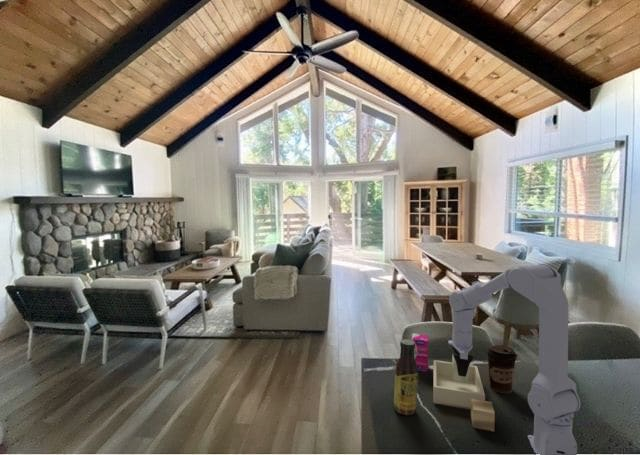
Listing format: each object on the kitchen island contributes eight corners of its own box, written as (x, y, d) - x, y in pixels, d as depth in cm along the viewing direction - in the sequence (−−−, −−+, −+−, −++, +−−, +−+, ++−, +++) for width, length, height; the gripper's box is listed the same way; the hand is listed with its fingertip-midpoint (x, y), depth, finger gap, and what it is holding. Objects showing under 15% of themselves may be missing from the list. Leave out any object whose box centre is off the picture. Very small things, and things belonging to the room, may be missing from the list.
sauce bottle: (400, 418, 89) (401, 348, 88) (389, 405, 95) (390, 339, 94) (421, 414, 91) (422, 345, 89) (409, 401, 97) (410, 336, 95)
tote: (484, 412, 91) (485, 395, 91) (433, 403, 96) (433, 386, 95) (476, 380, 108) (477, 366, 108) (433, 374, 112) (433, 360, 112)
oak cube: (494, 431, 84) (494, 413, 83) (472, 427, 85) (473, 409, 85) (490, 419, 88) (491, 402, 88) (470, 416, 90) (471, 398, 90)
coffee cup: (521, 398, 98) (522, 356, 97) (491, 395, 100) (492, 354, 99) (510, 382, 106) (511, 344, 106) (482, 380, 108) (483, 342, 107)
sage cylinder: (470, 382, 100) (470, 360, 99) (452, 380, 101) (453, 358, 101) (467, 374, 105) (468, 353, 104) (451, 372, 106) (451, 351, 106)
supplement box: (410, 370, 115) (411, 338, 114) (411, 362, 121) (411, 332, 120) (428, 372, 113) (428, 340, 112) (427, 364, 119) (428, 334, 118)
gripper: (447, 320, 110) (446, 359, 111) (449, 336, 96) (448, 380, 97) (470, 322, 108) (469, 362, 109) (475, 339, 94) (474, 384, 95)
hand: (461, 371), depth 103 cm, fingers closed on sage cylinder, 5 cm apart
